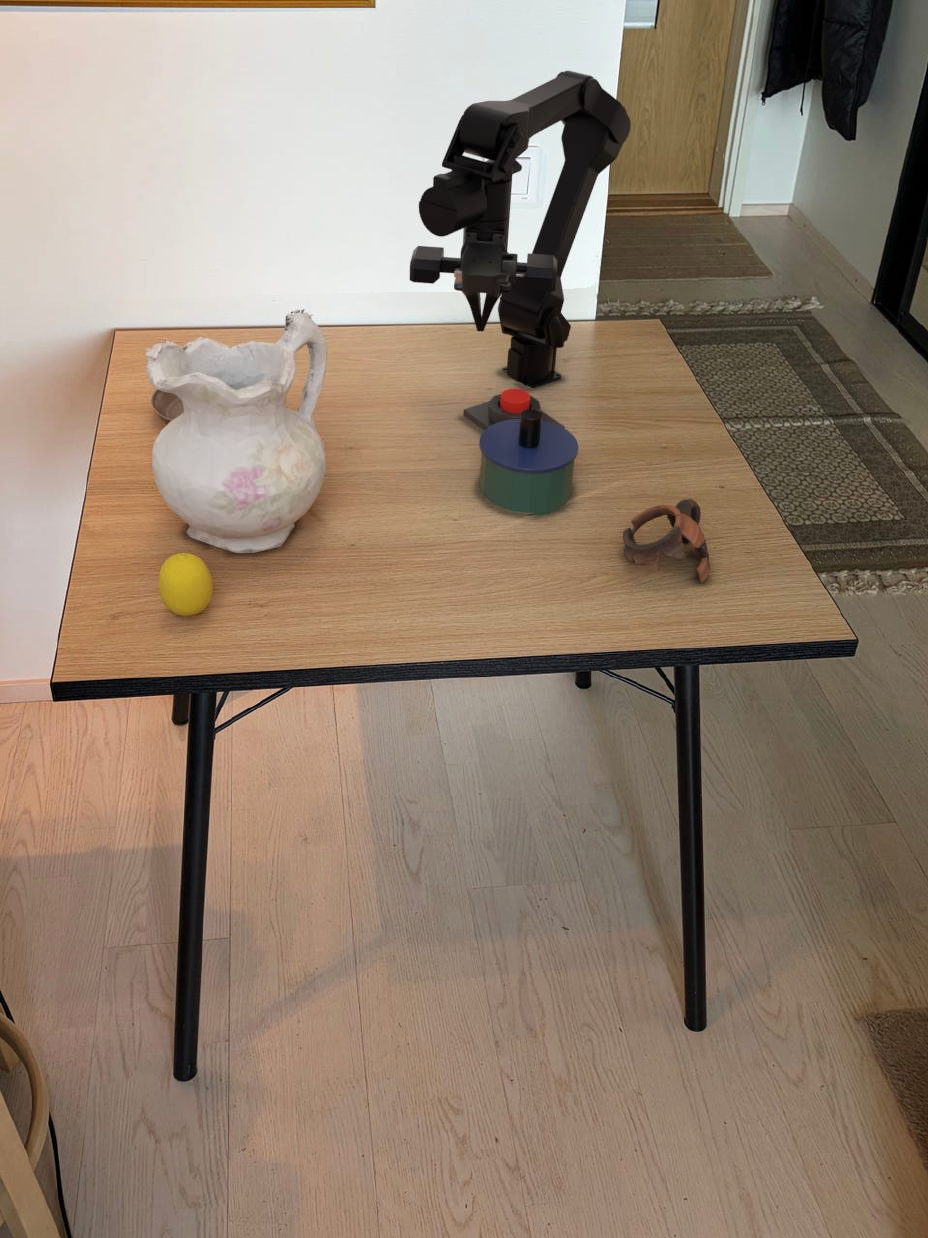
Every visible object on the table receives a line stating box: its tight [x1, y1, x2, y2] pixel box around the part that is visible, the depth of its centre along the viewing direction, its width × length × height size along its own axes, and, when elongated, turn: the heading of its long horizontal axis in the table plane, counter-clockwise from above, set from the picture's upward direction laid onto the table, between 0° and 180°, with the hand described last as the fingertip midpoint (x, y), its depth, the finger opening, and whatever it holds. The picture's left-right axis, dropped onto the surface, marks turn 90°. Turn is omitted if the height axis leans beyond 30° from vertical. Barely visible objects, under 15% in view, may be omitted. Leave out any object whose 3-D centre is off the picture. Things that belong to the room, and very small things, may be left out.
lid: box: [478, 409, 579, 473], centre depth 142 cm, size 12×12×5 cm
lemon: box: [158, 552, 214, 617], centre depth 123 cm, size 6×6×8 cm
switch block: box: [462, 393, 566, 431], centre depth 159 cm, size 9×11×4 cm
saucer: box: [150, 388, 184, 424], centre depth 158 cm, size 15×15×3 cm
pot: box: [479, 453, 576, 517], centre depth 145 cm, size 11×11×6 cm
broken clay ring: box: [622, 498, 711, 583], centre depth 136 cm, size 12×10×8 cm
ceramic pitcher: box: [143, 309, 328, 554], centre depth 132 cm, size 22×20×25 cm
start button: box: [500, 388, 531, 413], centre depth 157 cm, size 4×4×2 cm
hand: (480, 330), depth 155 cm, fingers closed
